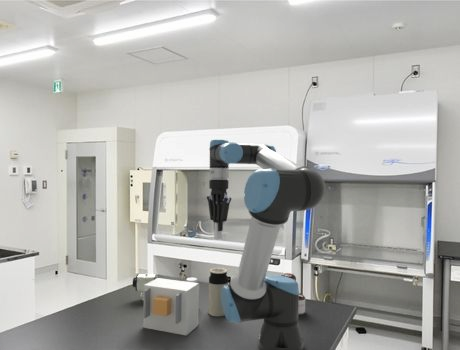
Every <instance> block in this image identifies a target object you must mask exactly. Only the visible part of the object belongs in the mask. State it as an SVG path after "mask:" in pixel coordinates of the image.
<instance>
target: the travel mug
mask: <svg viewBox="0 0 460 350" xmlns="http://www.w3.org/2000/svg"><path fill="white" fill-rule="evenodd" d="M228 271H229V270H228V269H227V268H223V267H214V268H210V269H209V273H210V275H209V277H208V314H209V315H210V316H211V317H218V318H219V317H224V316H225V314H224V311H223V307H222V302H221V288H222V287H223V286H225V285H229V277H228V275H227V274H228Z"/></svg>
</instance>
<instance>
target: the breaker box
mask: <svg viewBox="0 0 460 350" xmlns="http://www.w3.org/2000/svg"><path fill="white" fill-rule="evenodd" d="M157 296H161V297H168V298H171V314H169V315H168V316H162V315H156V314H153V298H155V297H157ZM199 308H200V283H199V282H197V283H193V282H186V280H183V281H182V280H178V279H177V280H175V279H168V278H161V277H158V278H157V279H155V280H153V281H151V282H149V283H147V284H145V285H144V300H143V325H142V326H143V328H144V329H148V330H149V329H150V330H155V331H160V332H165V333H170V334H174V335H175V334H176V335H181V336H188V335H189V334H191V332H192V331H193V330H195V329H196V328H197V327H198V326H199V321H200V320H199V312H200V311H199V310H200V309H199Z"/></svg>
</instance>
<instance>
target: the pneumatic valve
mask: <svg viewBox="0 0 460 350" xmlns="http://www.w3.org/2000/svg"><path fill="white" fill-rule="evenodd" d="M157 278H159V276H158V274H157V273H155V274H153V273H151V274H150V273H147V272H145V273H144V274H143V273H142V274H141V273H139V274H138V273H137V275H136V276H135V277H133V279H132V288H134V289H135V291H136V292H138V291H139V292H141V291H142V292H141V293H140V295H139V298H140V299H141V301H144V285H145V284H147V283H149V282H151V281H153V280H155V279H157Z"/></svg>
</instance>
